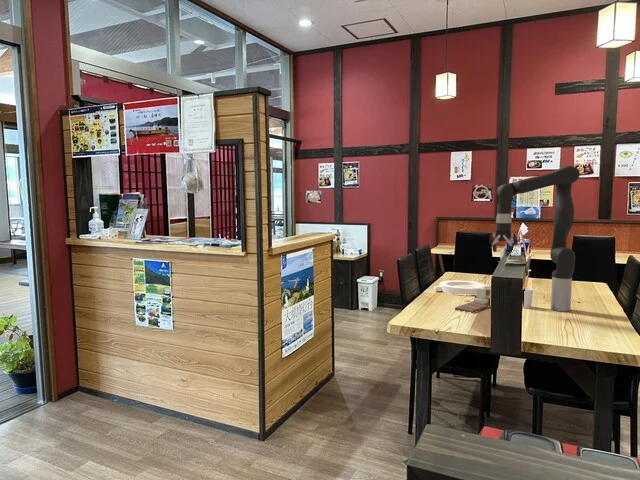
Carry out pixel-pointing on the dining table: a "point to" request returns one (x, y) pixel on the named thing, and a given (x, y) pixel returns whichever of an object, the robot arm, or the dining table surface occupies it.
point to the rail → (473, 306)
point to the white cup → (528, 297)
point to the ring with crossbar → (460, 287)
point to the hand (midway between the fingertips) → (502, 252)
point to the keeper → (481, 296)
